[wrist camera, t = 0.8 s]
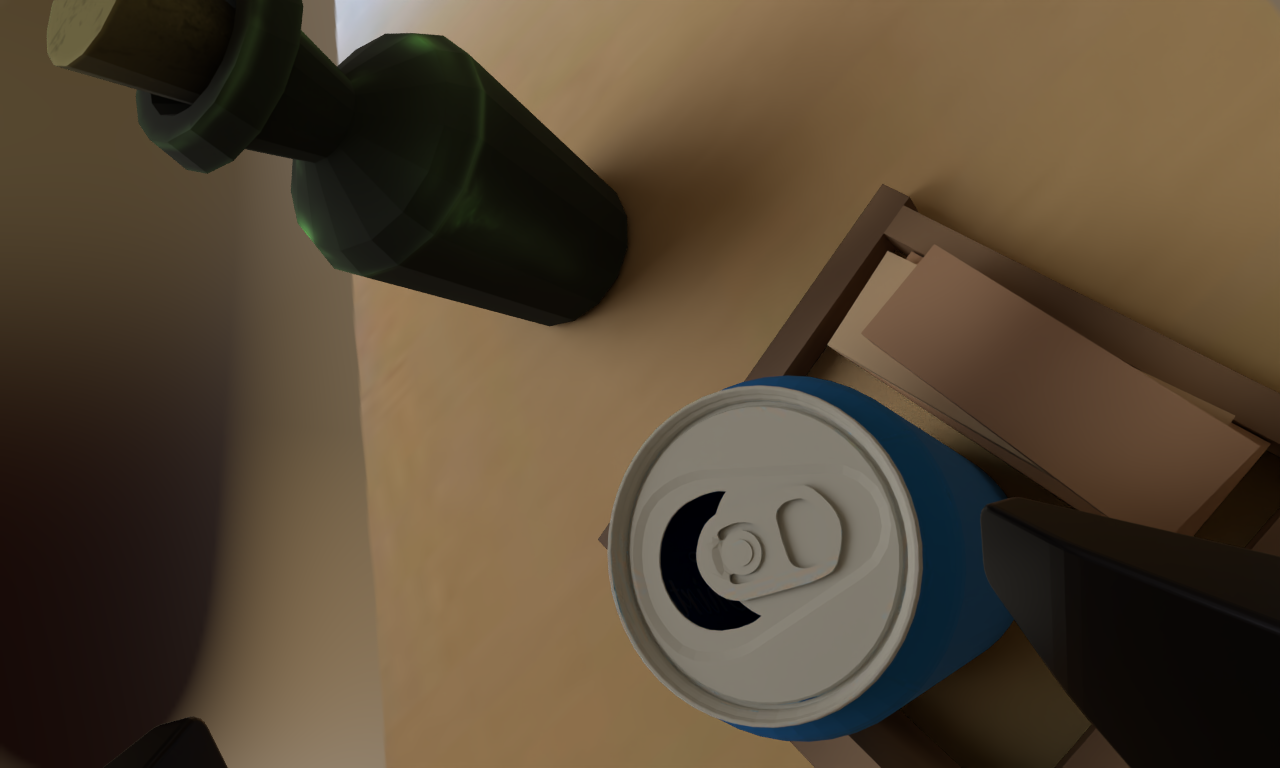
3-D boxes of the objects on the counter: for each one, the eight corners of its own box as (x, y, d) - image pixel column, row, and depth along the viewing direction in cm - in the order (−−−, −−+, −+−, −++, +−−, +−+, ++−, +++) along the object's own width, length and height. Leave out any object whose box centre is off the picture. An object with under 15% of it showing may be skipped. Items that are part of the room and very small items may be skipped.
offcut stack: (1262, 450, 19) (1290, 428, 16) (1162, 568, 19) (1171, 570, 16) (919, 263, 24) (888, 219, 21) (848, 360, 25) (809, 331, 22)
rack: (1397, 454, 18) (1470, 426, 14) (1019, 881, 20) (995, 956, 16) (894, 202, 25) (854, 139, 21) (660, 533, 27) (587, 528, 24)
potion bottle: (629, 128, 32) (191, -256, 17) (668, 302, 29) (187, 30, 14) (484, 211, 35) (18, -42, 20) (507, 373, 33) (-11, 217, 18)
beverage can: (780, 484, 25) (558, 436, 15) (978, 413, 23) (863, 298, 13) (844, 688, 23) (632, 788, 13) (1072, 638, 20) (1024, 716, 10)
